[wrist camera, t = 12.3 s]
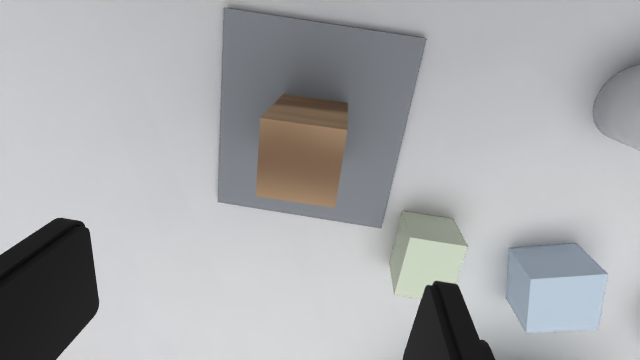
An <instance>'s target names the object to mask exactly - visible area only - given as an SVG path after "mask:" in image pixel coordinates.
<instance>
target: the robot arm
mask: <svg viewBox="0 0 640 360" xmlns="http://www.w3.org/2000/svg"><path fill="white" fill-rule="evenodd" d="M98 307H99V298H98V291H97V283H96V276H95V268H94V260H93V253H92V245H91V238H90V232H89V229H88V228H86V227H85V225H84V223H83V222H81V221H77V220H71V219H65V218H57V219H54V220H53V221H51V222H50V223H48V224H47V225H45V226H44V227H42V228H41V229H39V230H38V231H36V232H34V233H33V234H31V235H30V236H28V237H27V238H25V239H24V240H22V241H21V242H19V243H18V244H16V245H15V246H13V247H12V248H10V249H9V250H7V251H6V252H4V253H3V254H1V255H0V360H56V359H57V358H58V357H59V356H60V354H61V353H62V352H63V351H64V350H65V349H66V348H67V346H68V345H69V344H70V343H71V342H72V341H73V340H74V339H75V337H76V336H77V335H78V334H79V333H80V332H81V331H82V329H83V328H84V327H85V326H86V325H87V324H88V323H89V322H90V320H91V319H92V318H93V317H94V316H95V314H96V312H97V310H98ZM403 360H495V358H494V356H493V353H492V351H491V348H490V347H489V345H488V343H487V342H485V341H484V340H480V339H479V337H478V334H477V332H476V329H475V326H474V324H473V321H472V319H471V316H470V314H469V311H468V309H467V306H466V304H465V301H464V299H463V296H462V294H461V291H460V289H459V287H458V285H457V284H454V283H448V282H442V281H434V282H433V284H432V285H426V287H425V289H424V293H423V296H422V299H421V302H420V305H419V308H418V311H417V314H416V318H415V321H414V324H413V327H412V330H411V333H410V336H409V339H408V343H407V346H406V349H405V352H404V355H403Z"/></svg>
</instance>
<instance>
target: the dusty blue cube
mask: <svg viewBox="0 0 640 360" xmlns="http://www.w3.org/2000/svg"><path fill="white" fill-rule="evenodd" d="M607 278H608V273H607V272H606V271H605V270H603V269H602V268H601V267H600V266H599V265H598V264H597V263H596V262H595V261H594V260H593V259H592V258H591V257H590V256H589V255H588V254H587V253H586V252H585V251H584V250H583V249H582V248H581V247H580V246H579V245H578V244H577V243H570V244H557V245H545V246H532V247H519V248H509V255H508V274H507V292H506V299H507V300H508V302H509V304H510V306H511V308H512V309H513V311H514V313H515V315H516V316H517V318H518V320H519V322H520V323H521V325H522V327H523V329H524V330H525V332H526V333H542V332H562V331H581V330H598V327H599V322H600V316H601V311H602V305H603V300H604V294H605V289H606V283H607Z"/></svg>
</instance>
